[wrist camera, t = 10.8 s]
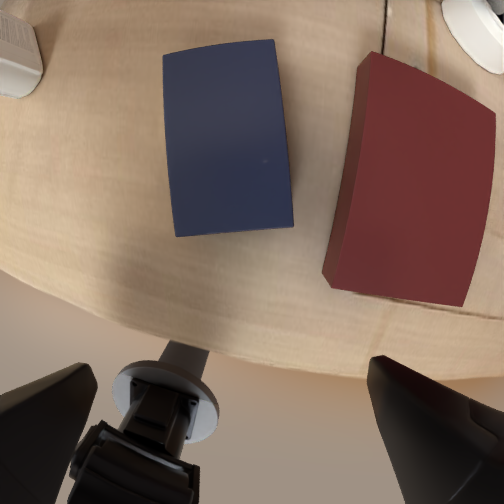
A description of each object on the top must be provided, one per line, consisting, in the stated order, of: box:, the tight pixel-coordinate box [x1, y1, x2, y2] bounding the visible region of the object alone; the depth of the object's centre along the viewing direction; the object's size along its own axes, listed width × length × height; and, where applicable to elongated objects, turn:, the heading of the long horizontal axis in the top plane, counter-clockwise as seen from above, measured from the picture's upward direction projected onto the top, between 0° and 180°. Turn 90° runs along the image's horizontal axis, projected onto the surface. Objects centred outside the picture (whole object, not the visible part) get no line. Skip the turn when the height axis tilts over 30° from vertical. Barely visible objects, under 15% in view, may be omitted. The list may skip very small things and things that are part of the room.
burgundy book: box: [322, 51, 496, 307], centre depth 16 cm, size 15×11×3 cm
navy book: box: [163, 39, 294, 237], centre depth 16 cm, size 11×6×4 cm, turn 5°
